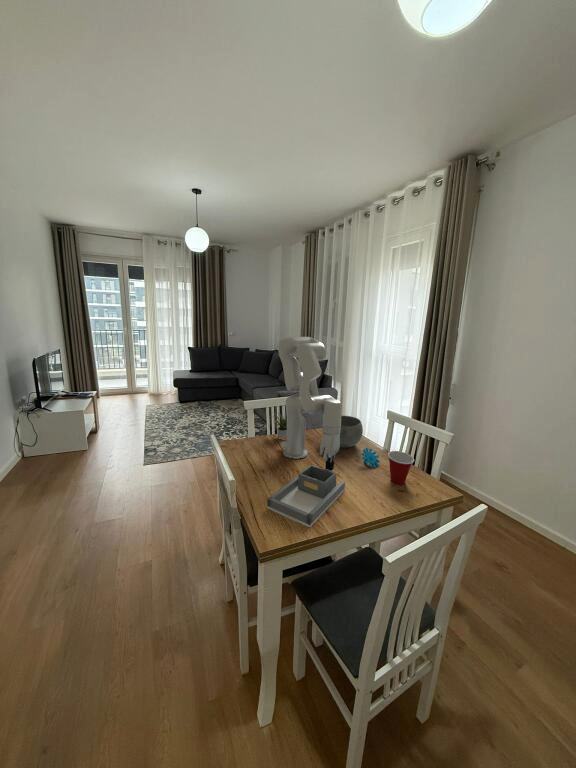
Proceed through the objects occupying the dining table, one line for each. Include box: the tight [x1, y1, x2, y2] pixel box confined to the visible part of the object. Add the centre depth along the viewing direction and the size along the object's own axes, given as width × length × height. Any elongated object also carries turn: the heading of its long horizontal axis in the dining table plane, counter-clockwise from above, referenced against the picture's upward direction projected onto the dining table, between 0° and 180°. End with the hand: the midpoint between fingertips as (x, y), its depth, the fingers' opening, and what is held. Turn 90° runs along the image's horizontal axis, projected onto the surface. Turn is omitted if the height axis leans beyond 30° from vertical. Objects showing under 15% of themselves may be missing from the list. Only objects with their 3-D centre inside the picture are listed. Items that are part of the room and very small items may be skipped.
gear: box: [361, 447, 381, 469], centre depth 149 cm, size 11×6×10 cm
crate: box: [297, 464, 338, 499], centre depth 123 cm, size 12×10×7 cm
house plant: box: [271, 412, 287, 439], centre depth 176 cm, size 14×14×16 cm
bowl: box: [339, 415, 364, 449], centre depth 168 cm, size 20×20×15 cm
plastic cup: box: [387, 450, 415, 485], centre depth 132 cm, size 11×11×12 cm
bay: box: [267, 475, 346, 528], centre depth 118 cm, size 18×28×4 cm, turn 146°
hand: (329, 469), depth 131 cm, fingers closed
